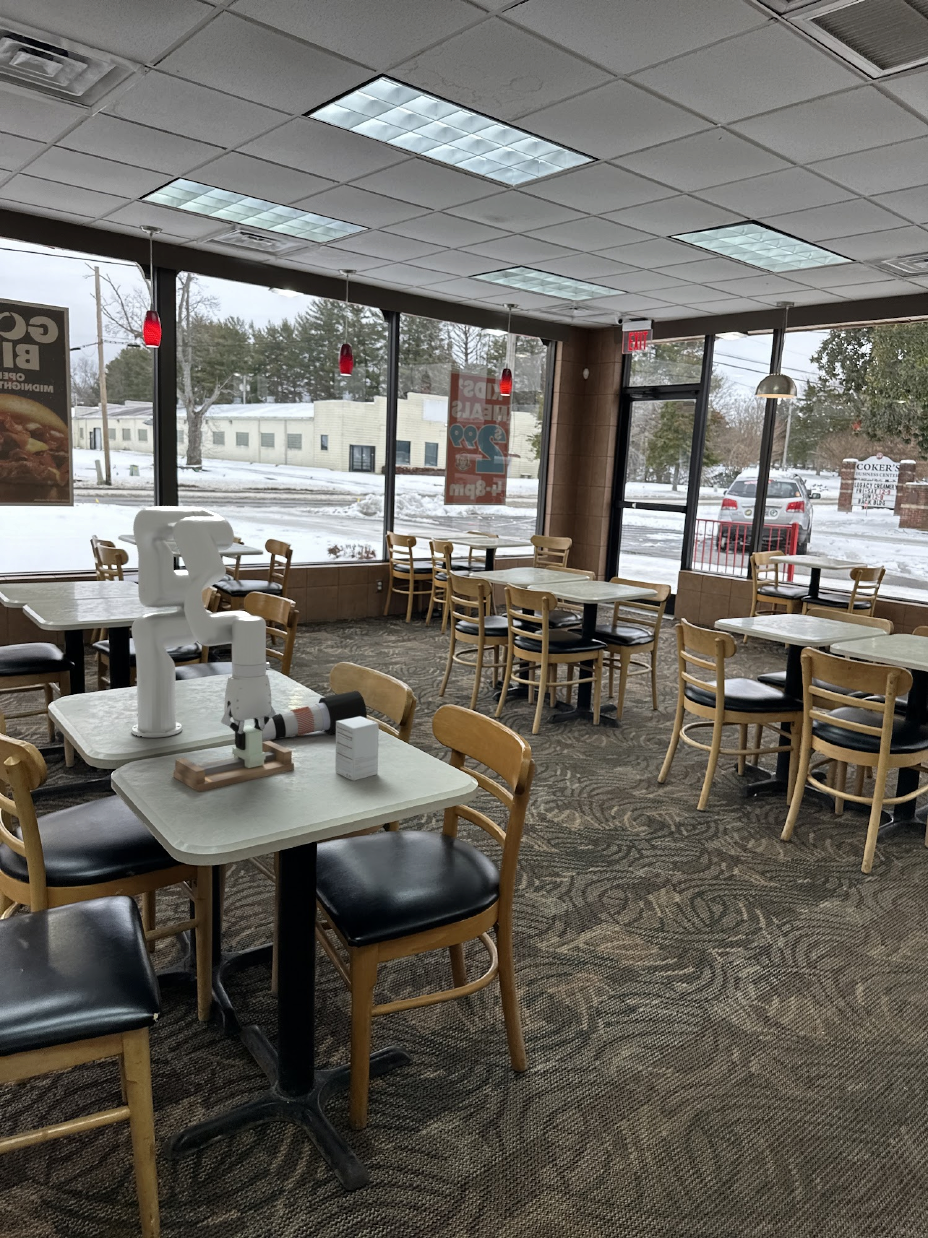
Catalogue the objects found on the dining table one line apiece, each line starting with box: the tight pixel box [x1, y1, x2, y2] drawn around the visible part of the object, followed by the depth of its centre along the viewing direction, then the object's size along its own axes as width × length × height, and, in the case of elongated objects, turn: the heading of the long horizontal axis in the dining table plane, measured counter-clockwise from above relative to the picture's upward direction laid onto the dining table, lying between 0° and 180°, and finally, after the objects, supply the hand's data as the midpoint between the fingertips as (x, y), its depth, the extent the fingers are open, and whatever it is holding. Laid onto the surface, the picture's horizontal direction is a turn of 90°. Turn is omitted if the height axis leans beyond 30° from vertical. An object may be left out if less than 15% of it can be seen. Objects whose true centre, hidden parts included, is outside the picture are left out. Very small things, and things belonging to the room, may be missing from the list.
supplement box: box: [334, 716, 380, 782], centre depth 200 cm, size 7×7×13 cm
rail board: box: [172, 740, 295, 793], centre depth 198 cm, size 12×24×4 cm, turn 134°
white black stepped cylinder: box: [262, 690, 368, 742], centre depth 228 cm, size 10×34×10 cm, turn 120°
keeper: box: [231, 725, 265, 768], centre depth 200 cm, size 8×4×8 cm, turn 44°
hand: (248, 746), depth 200 cm, fingers closed on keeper, 3 cm apart
